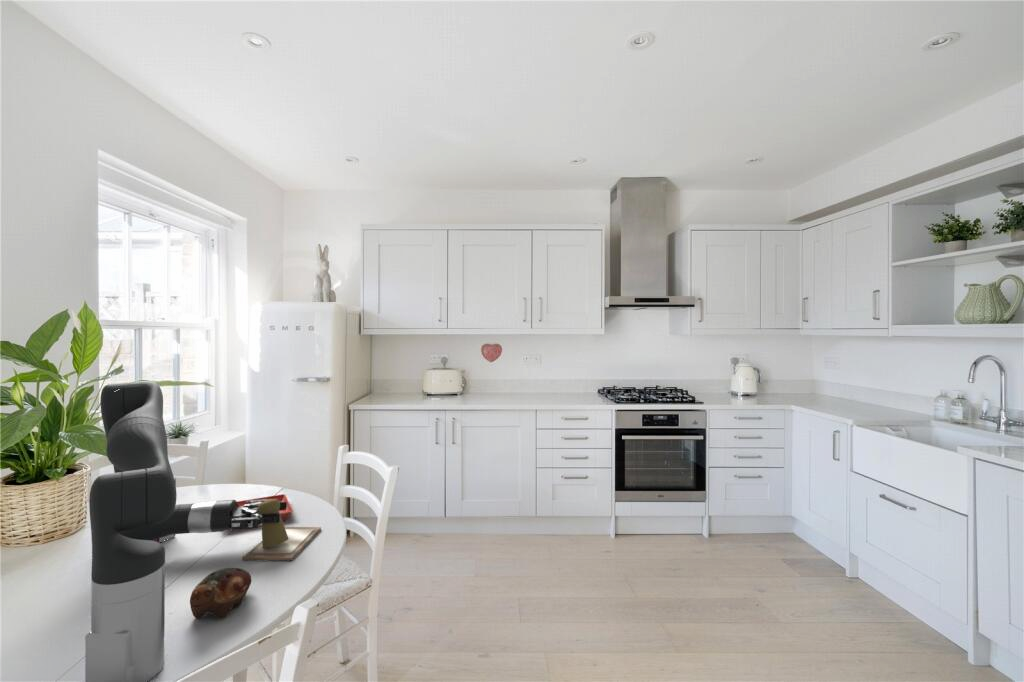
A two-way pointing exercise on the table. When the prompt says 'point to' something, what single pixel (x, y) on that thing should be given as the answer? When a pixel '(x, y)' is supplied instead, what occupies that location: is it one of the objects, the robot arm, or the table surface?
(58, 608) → the table surface
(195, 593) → the brown lumpy oval piece
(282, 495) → the plant saucer
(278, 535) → the cork
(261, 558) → the brown picture frame
